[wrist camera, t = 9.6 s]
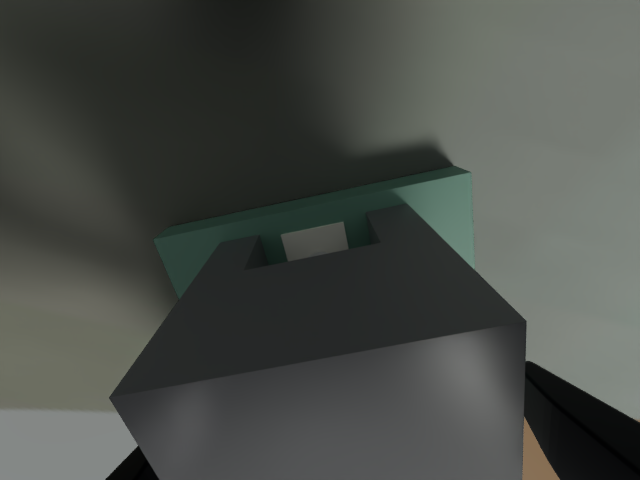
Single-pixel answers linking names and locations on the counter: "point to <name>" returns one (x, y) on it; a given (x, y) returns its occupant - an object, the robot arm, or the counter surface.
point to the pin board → (325, 223)
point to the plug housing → (334, 367)
